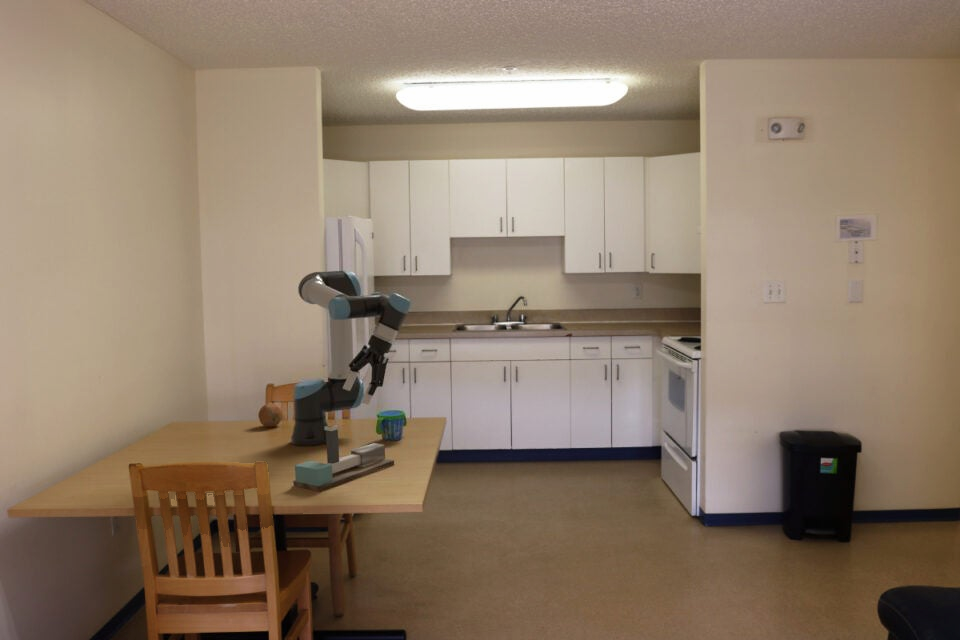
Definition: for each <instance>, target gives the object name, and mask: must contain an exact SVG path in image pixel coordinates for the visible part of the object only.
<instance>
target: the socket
mask: <svg viewBox="0 0 960 640" xmlns="http://www.w3.org/2000/svg"><path fill="white" fill-rule="evenodd" d="M324 463H325V462H318V461H312V460H307V461H304V462H302V463H301V462H300V463H299V464H294V473H295V474H294V476H295V477H294V478H295V480H296V482H300V483H305V484H310V485H315V486H320V485H323V484H326V483H329V482H332V481H333V477H332V465H330V464H324ZM295 480H294V481H295Z"/></svg>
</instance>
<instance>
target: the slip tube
mask: <svg viewBox="0 0 960 640" xmlns="http://www.w3.org/2000/svg"><path fill="white" fill-rule="evenodd" d="M324 429H325V430H326V442H327V443H326V456H327V457H326V459H327V460H326V461H327V462H323V463H324V464H330V465H332V474H333V473H336V472H339V471H341V470H344V469H347V468H350V467H353V466H356V465H359V464H361V454H358V453H354V454H351V453H350V454H348V455H345V456H342V457H340V450H339V430H340V425H336V424H335V425H334V424H330V425H329V424H328V426H326V427H324Z"/></svg>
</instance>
